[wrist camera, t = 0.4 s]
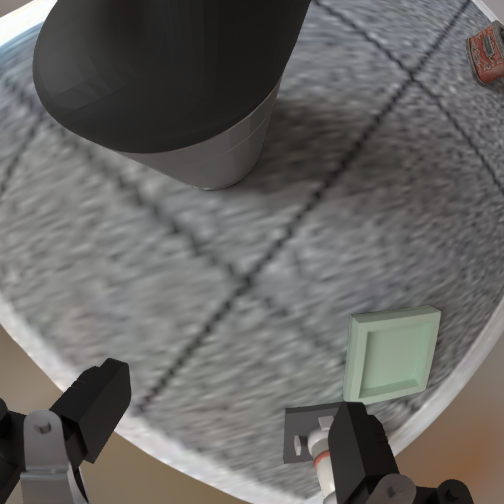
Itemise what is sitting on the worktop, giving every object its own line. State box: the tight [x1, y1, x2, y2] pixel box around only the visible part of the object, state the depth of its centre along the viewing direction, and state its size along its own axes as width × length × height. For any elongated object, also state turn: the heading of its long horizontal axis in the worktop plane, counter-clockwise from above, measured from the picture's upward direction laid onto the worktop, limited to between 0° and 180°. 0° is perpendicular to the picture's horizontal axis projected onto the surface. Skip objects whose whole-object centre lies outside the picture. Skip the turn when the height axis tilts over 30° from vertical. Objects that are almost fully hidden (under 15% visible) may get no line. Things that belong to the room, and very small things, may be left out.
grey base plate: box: [283, 402, 342, 464], centre depth 29 cm, size 9×9×3 cm
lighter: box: [465, 20, 504, 86], centre depth 20 cm, size 8×3×10 cm, turn 175°
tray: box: [342, 305, 441, 405], centre depth 28 cm, size 10×10×2 cm
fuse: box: [306, 426, 337, 504], centre depth 23 cm, size 4×4×12 cm
